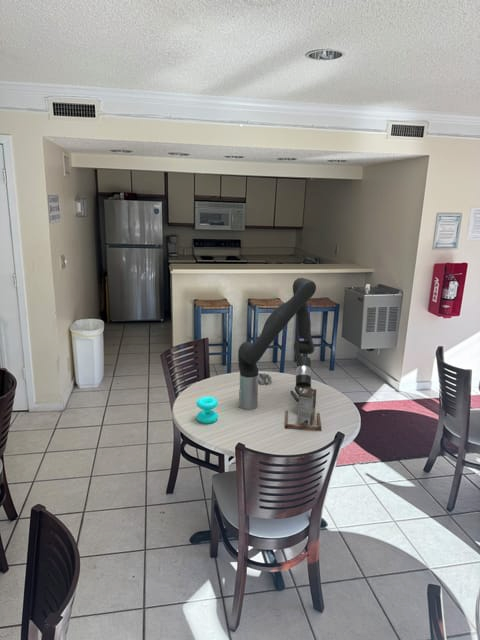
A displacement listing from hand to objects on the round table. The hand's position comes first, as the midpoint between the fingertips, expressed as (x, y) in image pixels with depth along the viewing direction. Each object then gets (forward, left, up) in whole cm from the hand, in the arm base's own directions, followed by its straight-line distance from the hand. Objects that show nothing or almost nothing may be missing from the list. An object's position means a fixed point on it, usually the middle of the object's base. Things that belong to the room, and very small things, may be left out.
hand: (302, 410), depth 210 cm
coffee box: (+1, -6, -4) cm, 7 cm away
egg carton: (-21, +42, -4) cm, 47 cm away
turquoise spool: (-45, -8, -4) cm, 46 cm away
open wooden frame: (0, -4, -4) cm, 6 cm away
